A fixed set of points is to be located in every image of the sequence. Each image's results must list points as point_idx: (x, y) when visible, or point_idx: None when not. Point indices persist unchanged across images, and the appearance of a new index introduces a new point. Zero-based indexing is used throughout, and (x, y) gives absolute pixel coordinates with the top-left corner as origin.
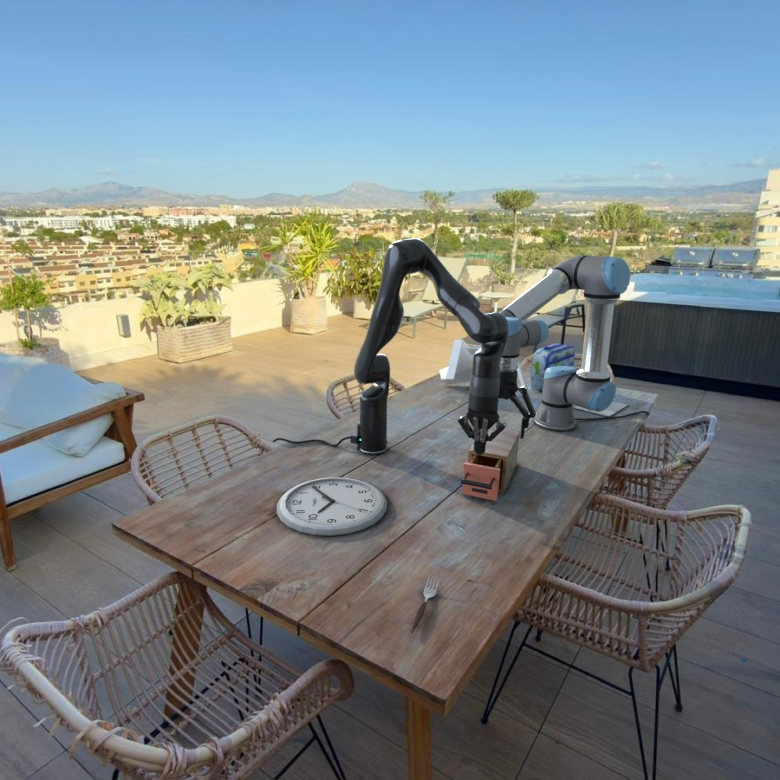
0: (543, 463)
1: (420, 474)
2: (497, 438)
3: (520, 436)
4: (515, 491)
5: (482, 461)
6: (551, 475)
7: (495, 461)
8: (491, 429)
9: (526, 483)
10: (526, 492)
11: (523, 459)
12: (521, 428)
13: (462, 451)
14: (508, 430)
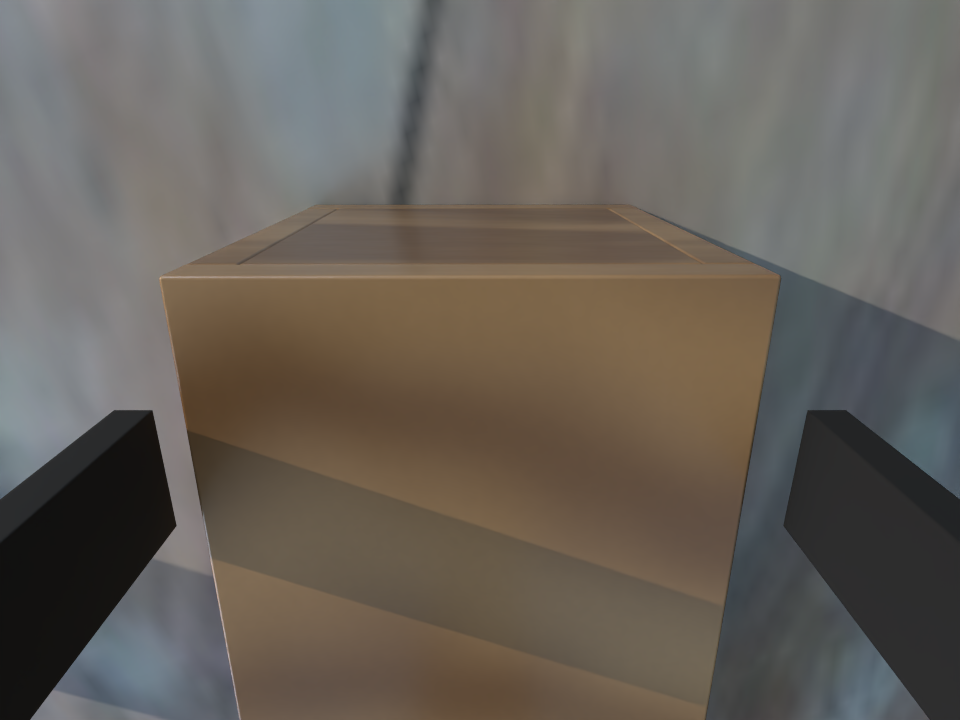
0: (881, 65)
1: None
2: (483, 658)
3: (801, 546)
4: None
5: None
6: (925, 299)
7: None
8: (308, 386)
9: None
10: (728, 609)
11: (685, 53)
12: (887, 655)
13: (78, 129)
14: (584, 311)
